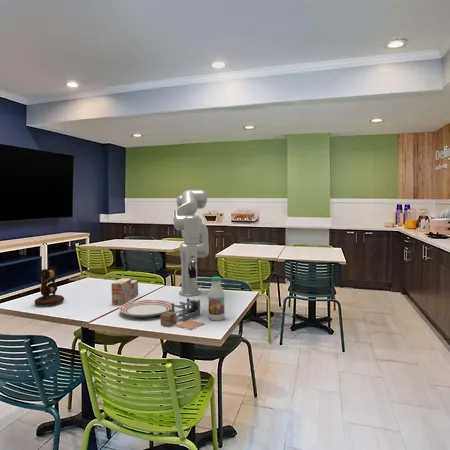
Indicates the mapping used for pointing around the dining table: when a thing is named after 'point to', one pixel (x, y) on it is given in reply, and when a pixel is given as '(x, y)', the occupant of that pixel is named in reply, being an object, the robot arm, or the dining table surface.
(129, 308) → the dinner plate
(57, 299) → the wooden spool stand
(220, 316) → the milk bottle
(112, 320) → the dining table surface
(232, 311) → the dining table surface
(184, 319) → the cage
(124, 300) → the stack of blocks
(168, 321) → the cube
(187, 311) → the plunger
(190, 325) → the coaster
